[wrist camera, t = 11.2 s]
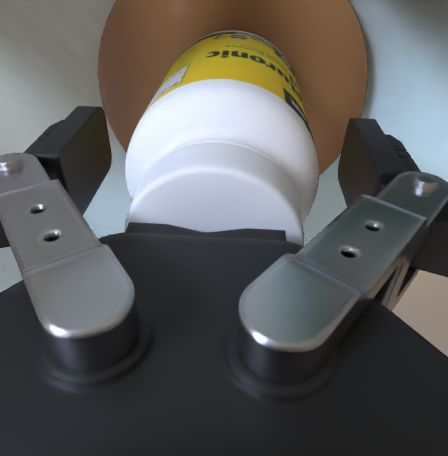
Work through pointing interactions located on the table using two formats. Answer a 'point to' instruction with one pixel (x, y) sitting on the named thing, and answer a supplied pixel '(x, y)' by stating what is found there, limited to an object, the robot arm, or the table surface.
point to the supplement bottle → (225, 142)
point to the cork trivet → (248, 22)
